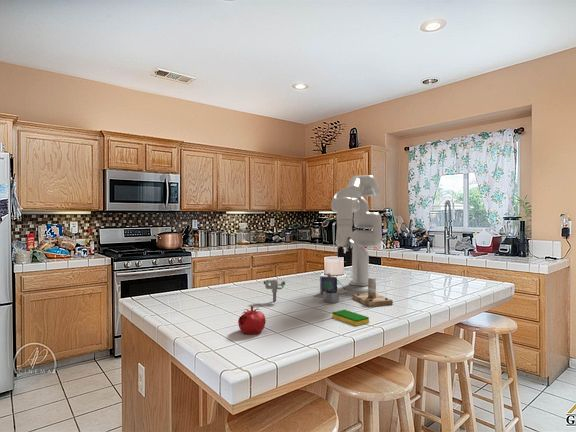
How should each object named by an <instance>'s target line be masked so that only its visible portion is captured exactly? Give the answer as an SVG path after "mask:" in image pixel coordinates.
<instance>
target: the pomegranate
mask: <svg viewBox="0 0 576 432" xmlns="http://www.w3.org/2000/svg"><path fill="white" fill-rule="evenodd" d="M257 310H258V311H257ZM237 323H238V324H237V325H238V327H239V330H240V331H241V332H242V333H244V334H248V335H256V334H260V333H261V332H262V331H263V330H264V329H265V326H266V323H267V321H266V316H265V314H264V313H263V312H262V311H261V309H259V308H255V309H254V306H253V305H250V310H249V309H247V308H246V309H244V308H243V312H242V314H241V315H240V317H238V320H237Z"/></svg>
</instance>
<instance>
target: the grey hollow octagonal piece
mask: <svg viewBox="0 0 576 432" xmlns="http://www.w3.org/2000/svg"><path fill="white" fill-rule="evenodd" d="M322 295H323V297H322V299H323V302H324V303H327V304H328V303H329V304H336V303H339V302H340V291H338V290H337V291H334V290H327V291H324V292H323V294H322Z"/></svg>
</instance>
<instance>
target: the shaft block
mask: <svg viewBox="0 0 576 432" xmlns="http://www.w3.org/2000/svg"><path fill="white" fill-rule="evenodd" d="M352 300H355V301H357V302H359V303H361V304H363V305H365V306H367V307H380V306H381V307H382V306H391V305H393V304H394V303H393V301H394V300H393V299H390V297H389V298H388V297H386V296H383V295H381V294H378V293H377V278H376V277H369V278H368V285H367V292H366V293H355V294H352Z"/></svg>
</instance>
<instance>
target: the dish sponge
mask: <svg viewBox="0 0 576 432" xmlns="http://www.w3.org/2000/svg"><path fill="white" fill-rule="evenodd" d="M331 315H332V318H334V319H336V320H339V321H342V322H345V323H348V324H351V325H354V326H360V325H363V324H368V323H370V317H369V316H366V315H363V314H360V313H356V312H353V311H350V310H347V309H342V310H337V311H332V314H331Z"/></svg>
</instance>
